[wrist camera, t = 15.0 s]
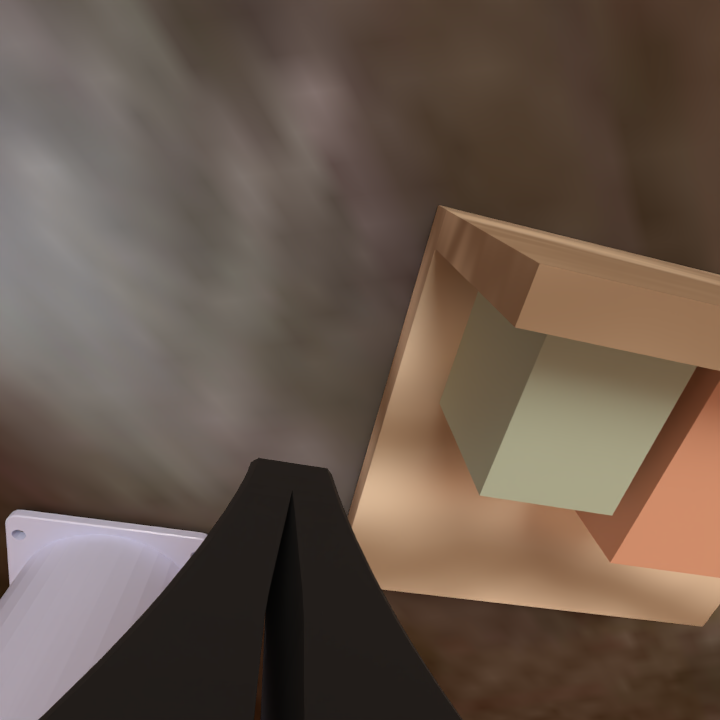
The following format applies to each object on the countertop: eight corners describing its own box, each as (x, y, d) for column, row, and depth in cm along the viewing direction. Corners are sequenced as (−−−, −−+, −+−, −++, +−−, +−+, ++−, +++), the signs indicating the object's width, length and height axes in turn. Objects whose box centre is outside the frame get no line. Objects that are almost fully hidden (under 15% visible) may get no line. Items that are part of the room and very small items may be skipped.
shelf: (686, 605, 25) (840, 803, 17) (334, 561, 22) (339, 777, 15) (891, 317, 19) (1268, 435, 11) (438, 205, 16) (539, 263, 8)
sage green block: (540, 421, 18) (612, 515, 14) (439, 403, 18) (479, 495, 13) (600, 287, 16) (709, 345, 12) (488, 261, 15) (556, 311, 11)
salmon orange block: (631, 476, 20) (724, 578, 15) (541, 461, 19) (610, 562, 14) (723, 316, 17) (870, 381, 12) (621, 292, 16) (737, 351, 12)
